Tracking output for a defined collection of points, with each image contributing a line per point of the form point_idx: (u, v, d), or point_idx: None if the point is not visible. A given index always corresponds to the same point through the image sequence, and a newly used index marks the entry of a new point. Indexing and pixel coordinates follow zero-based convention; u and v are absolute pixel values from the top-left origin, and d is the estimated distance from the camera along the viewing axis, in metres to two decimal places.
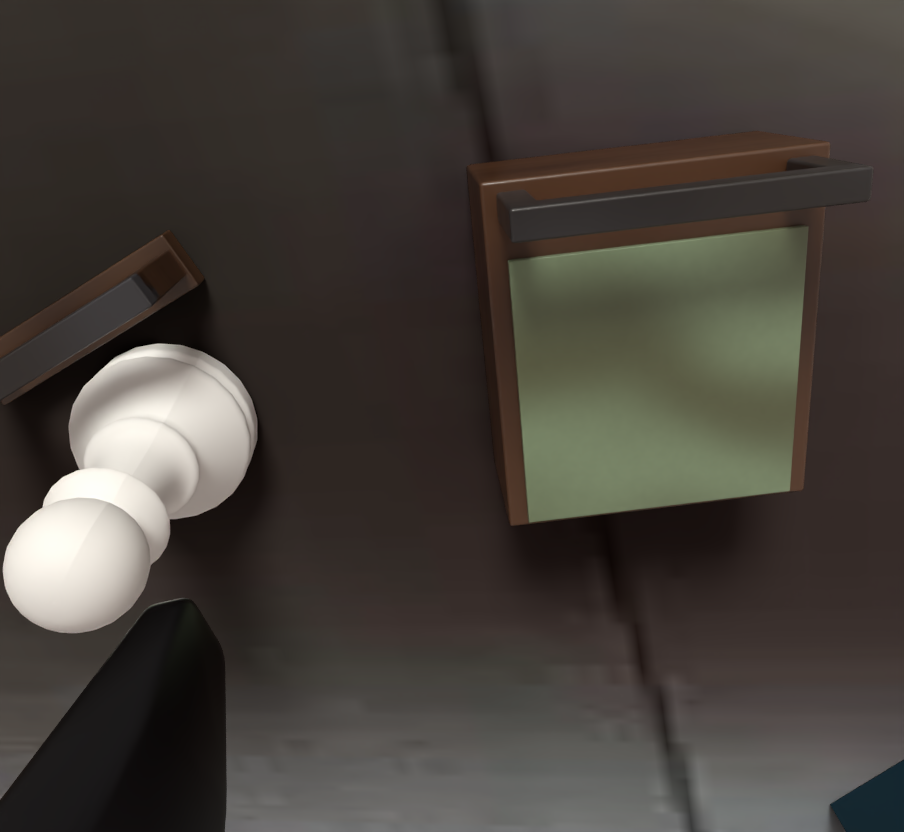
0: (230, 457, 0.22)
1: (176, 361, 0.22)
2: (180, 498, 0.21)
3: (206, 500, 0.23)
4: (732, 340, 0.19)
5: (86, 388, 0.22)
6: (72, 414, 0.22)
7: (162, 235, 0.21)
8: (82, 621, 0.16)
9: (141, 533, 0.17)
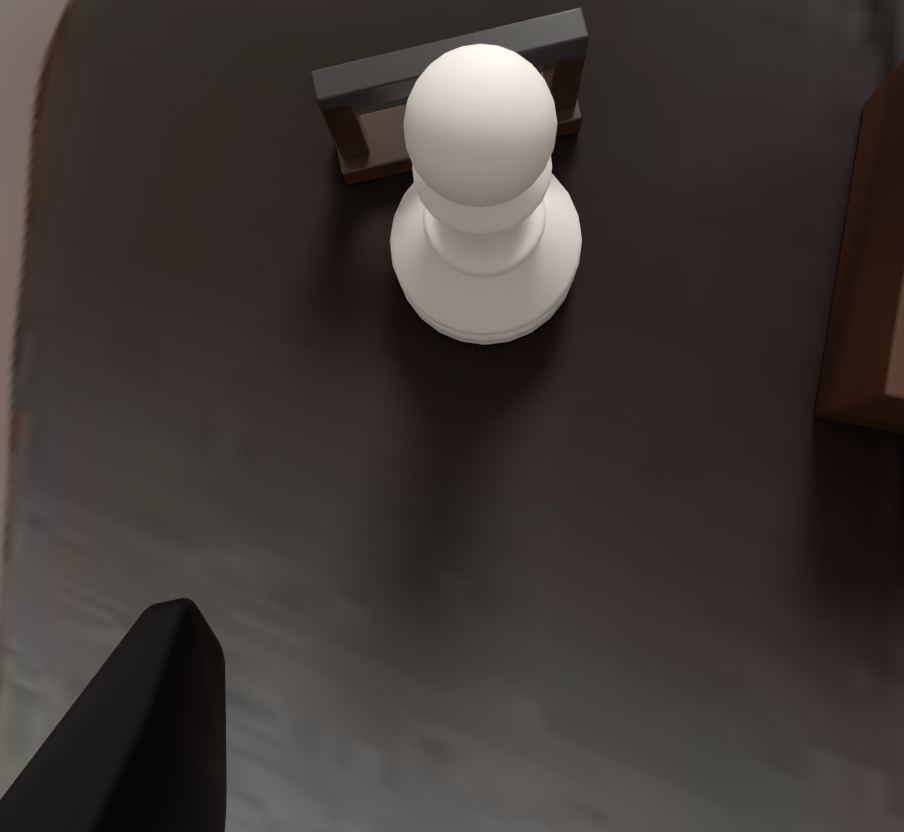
0: (557, 266, 0.20)
1: None
2: (513, 252, 0.19)
3: (511, 306, 0.20)
4: None
5: None
6: None
7: None
8: (488, 134, 0.13)
9: None
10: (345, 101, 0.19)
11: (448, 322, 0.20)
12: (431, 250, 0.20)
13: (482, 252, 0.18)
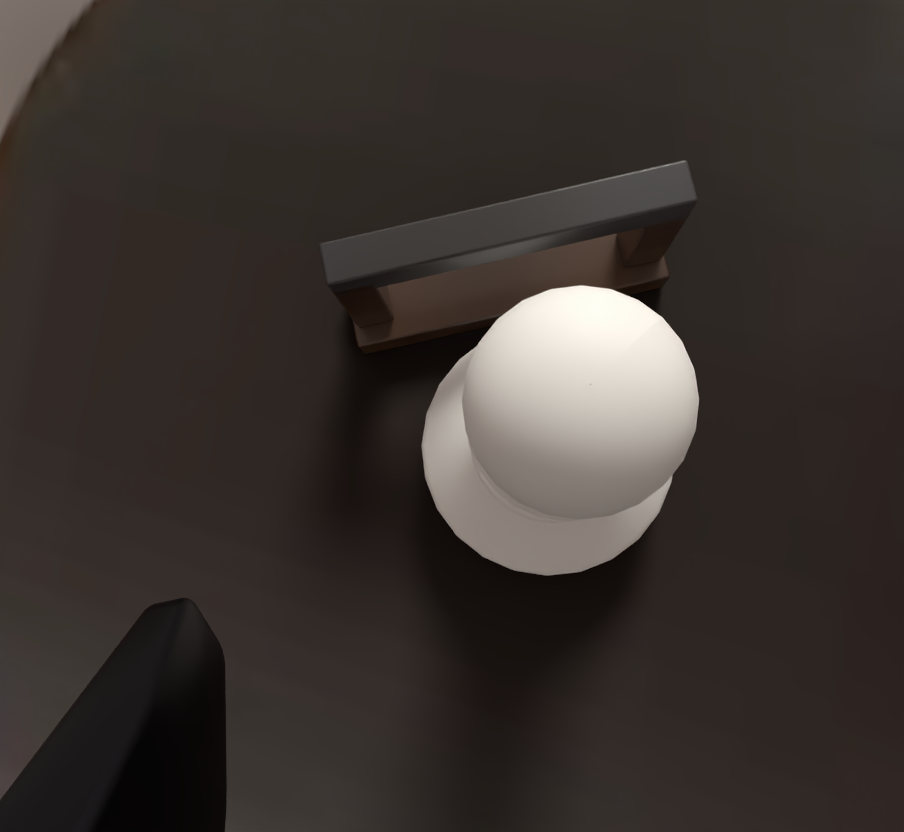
0: None
1: None
2: None
3: (585, 546, 0.15)
4: None
5: None
6: (456, 368, 0.16)
7: None
8: (605, 452, 0.08)
9: None
10: (365, 282, 0.14)
11: (500, 560, 0.15)
12: None
13: None
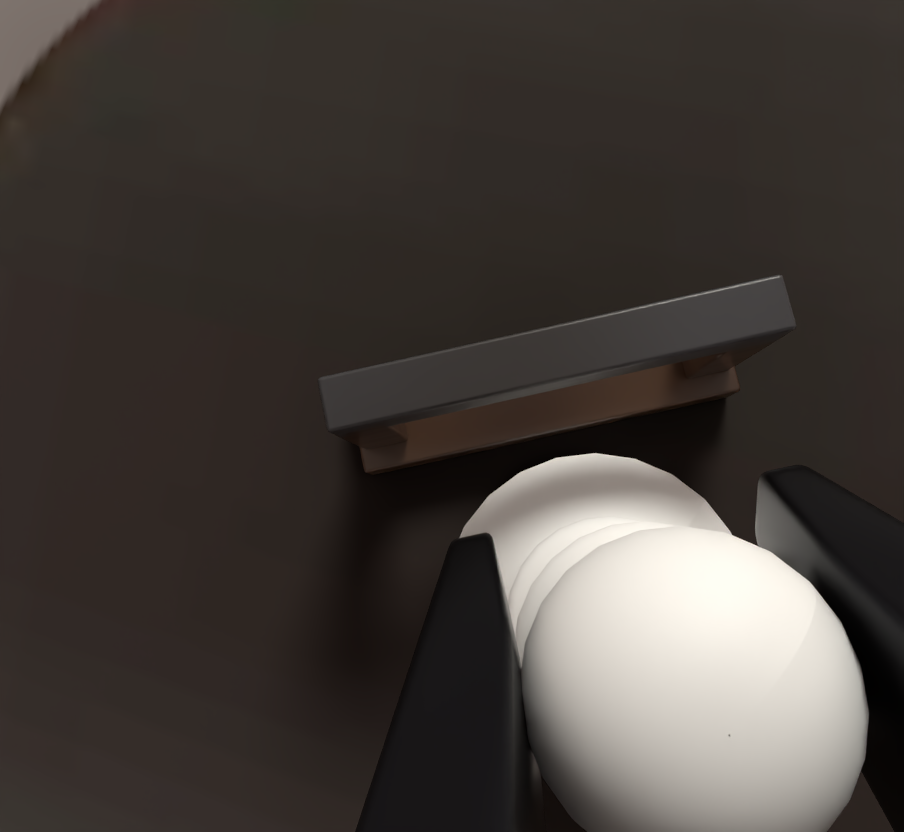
0: None
1: (681, 482, 0.13)
2: None
3: None
4: None
5: (527, 474, 0.13)
6: (484, 508, 0.13)
7: None
8: (748, 831, 0.06)
9: None
10: (376, 424, 0.11)
11: None
12: None
13: None
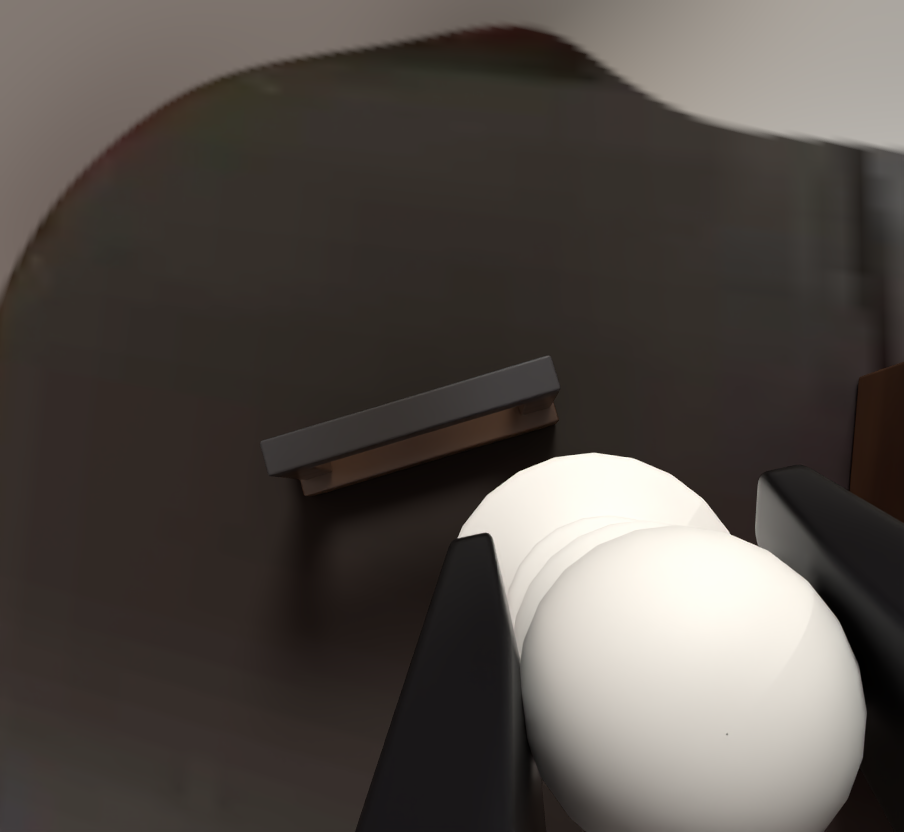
0: None
1: None
2: None
3: None
4: None
5: (526, 474, 0.13)
6: (483, 508, 0.13)
7: None
8: (746, 829, 0.06)
9: None
10: (300, 468, 0.17)
11: None
12: None
13: None
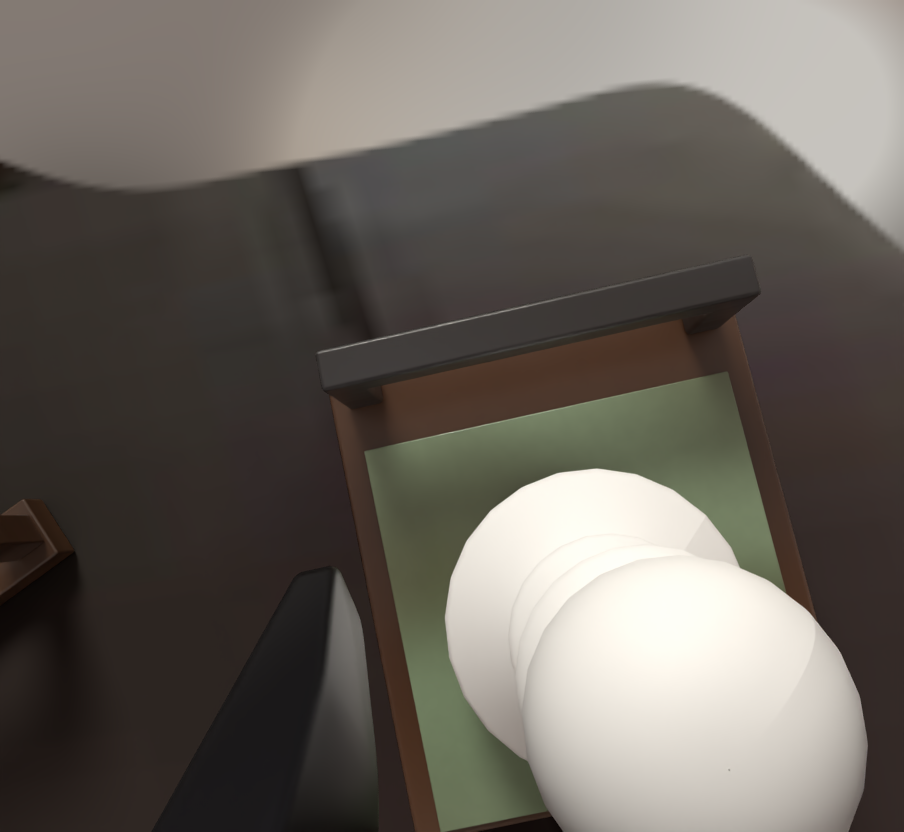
0: None
1: (682, 497, 0.13)
2: None
3: None
4: None
5: (529, 490, 0.13)
6: (486, 523, 0.13)
7: (24, 500, 0.19)
8: None
9: None
10: None
11: None
12: None
13: None
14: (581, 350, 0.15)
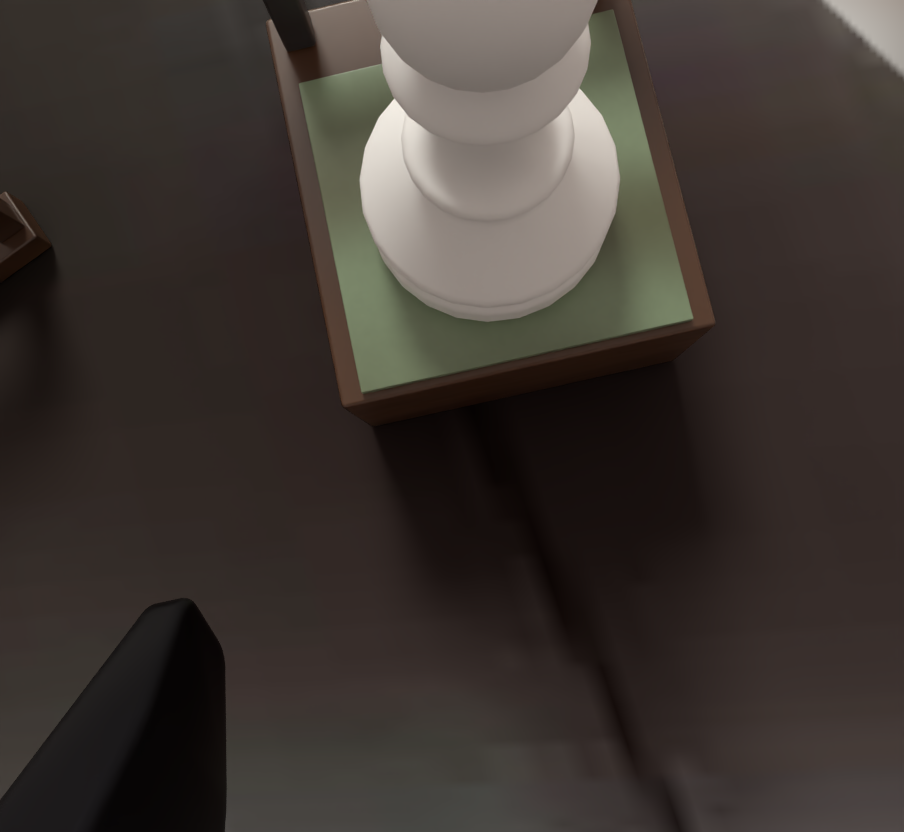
0: (588, 212, 0.15)
1: None
2: (528, 187, 0.13)
3: (523, 267, 0.15)
4: None
5: None
6: (395, 99, 0.15)
7: (6, 192, 0.21)
8: None
9: None
10: None
11: (438, 290, 0.15)
12: (414, 188, 0.14)
13: (484, 187, 0.13)
14: None
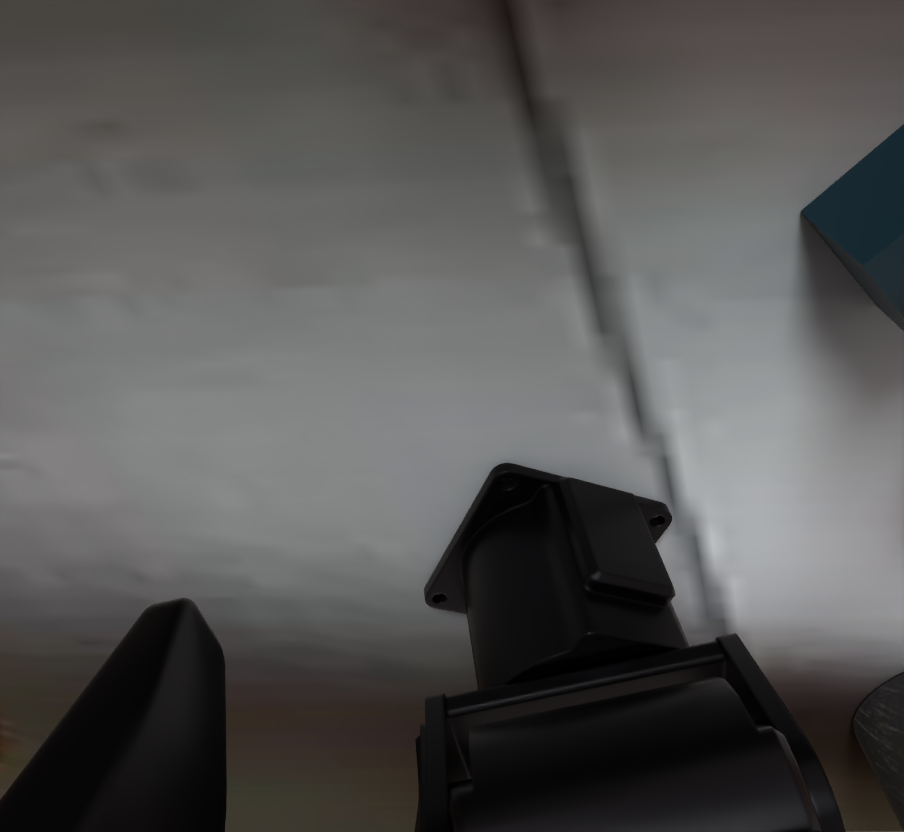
0: None
1: None
2: None
3: None
4: None
5: None
6: None
7: None
8: None
9: None
10: None
11: None
12: None
13: None
14: None
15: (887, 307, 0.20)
